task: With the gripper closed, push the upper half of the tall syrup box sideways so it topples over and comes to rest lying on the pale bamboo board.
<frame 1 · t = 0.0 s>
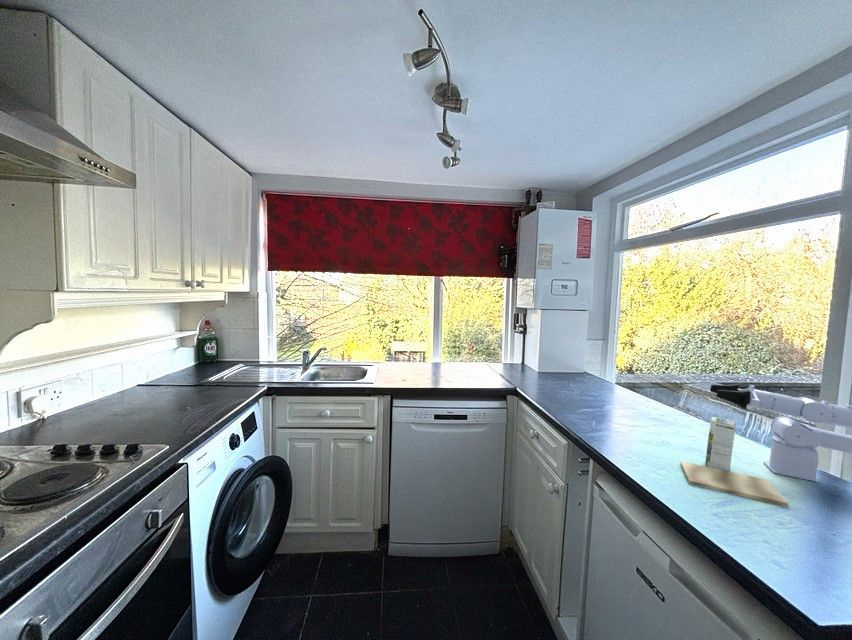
hand: (713, 390, 114), 22 cm above the table, tool horizontal, fingers open, 7 cm apart
bamboo board: (728, 483, 98), on the table
syrup box: (717, 467, 108), on the table
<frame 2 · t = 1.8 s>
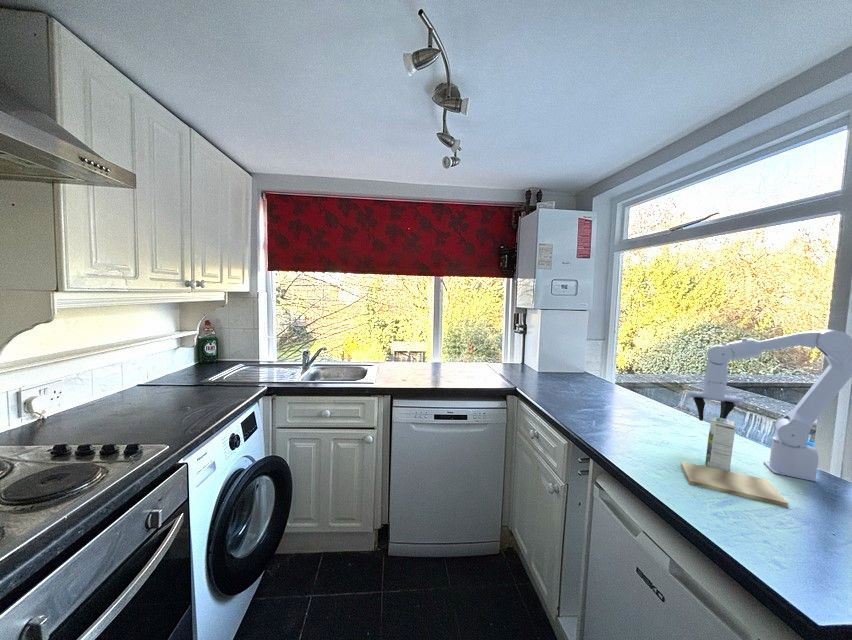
hand: (710, 421, 118), 10 cm above the table, tool pointing down, fingers open, 5 cm apart
nothing on the table moved.
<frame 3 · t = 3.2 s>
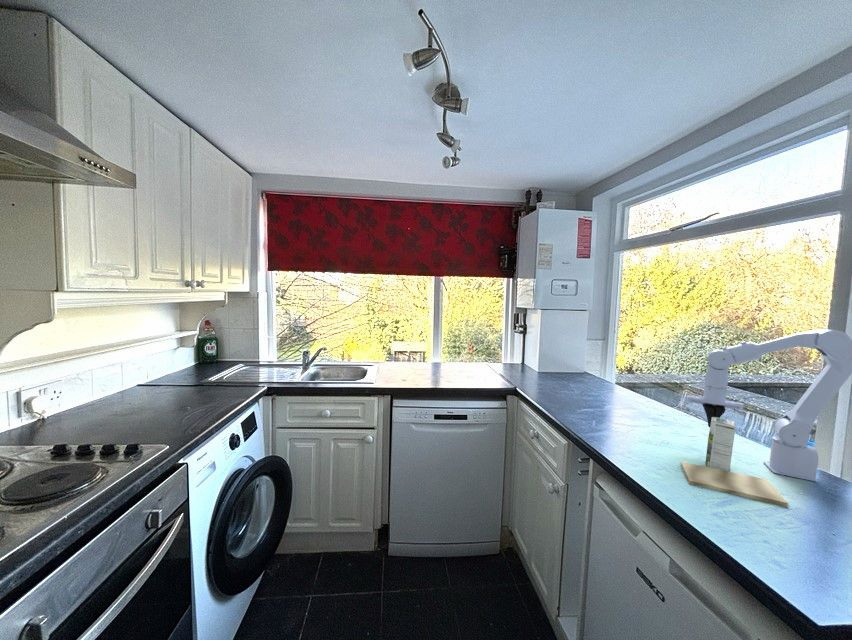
hand: (711, 426, 117), 9 cm above the table, tool pointing down, fingers closed
nothing on the table moved.
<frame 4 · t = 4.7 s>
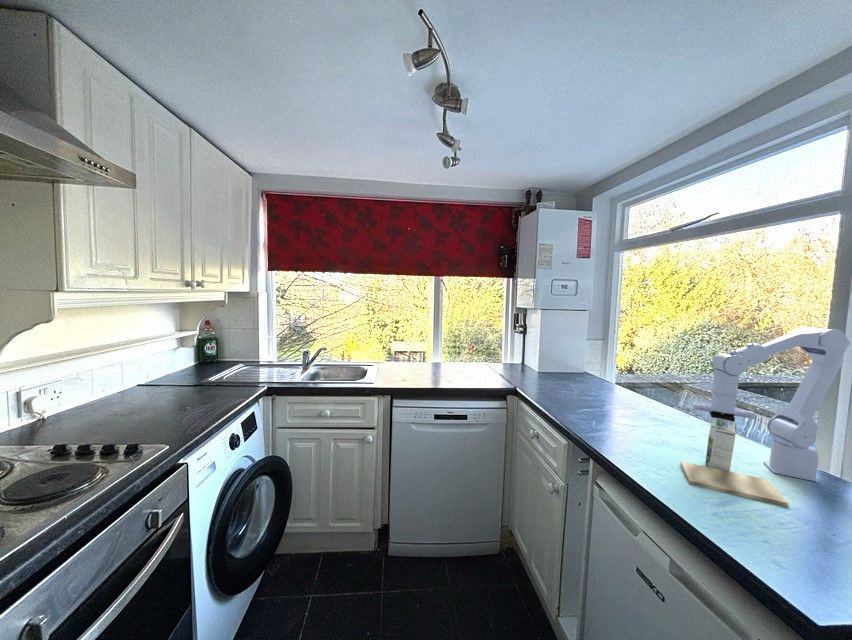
hand: (719, 436, 108), 9 cm above the table, tool pointing down, fingers closed
syrup box: (717, 464, 108), point 1 cm above the table, touching gripper
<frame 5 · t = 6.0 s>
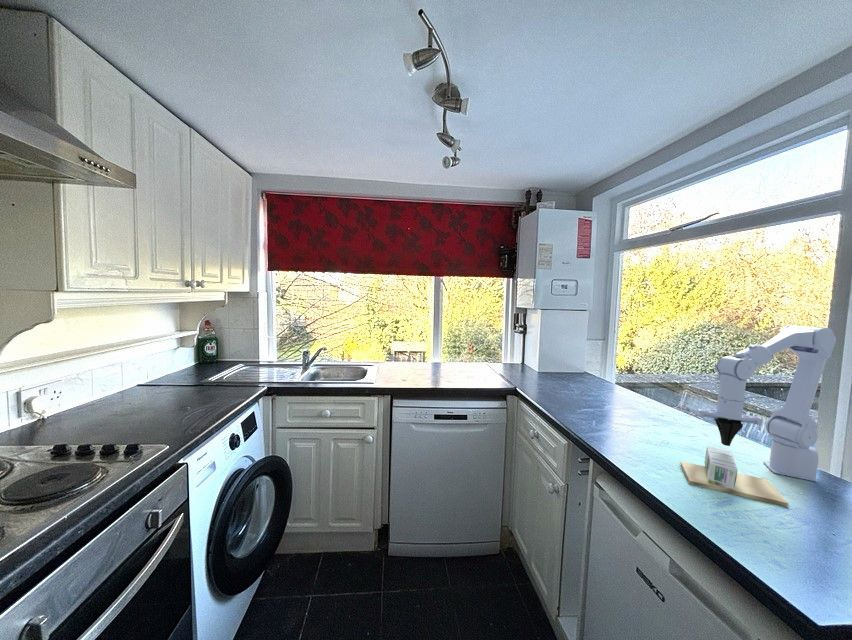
hand: (725, 444, 103), 9 cm above the table, tool pointing down, fingers closed
syrup box: (718, 456, 106), point 4 cm above the table, touching bamboo board
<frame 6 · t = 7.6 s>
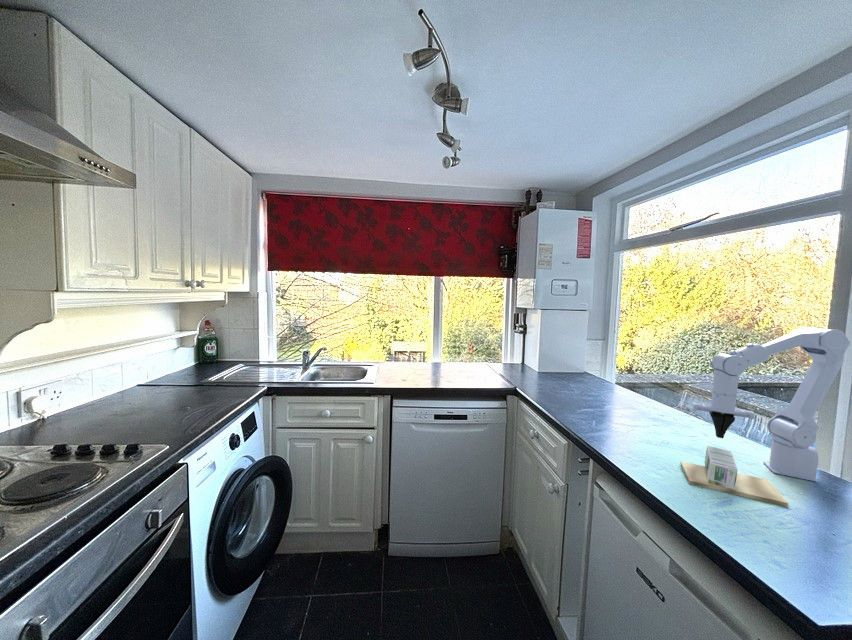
hand: (719, 436, 109), 9 cm above the table, tool pointing down, fingers closed
nothing on the table moved.
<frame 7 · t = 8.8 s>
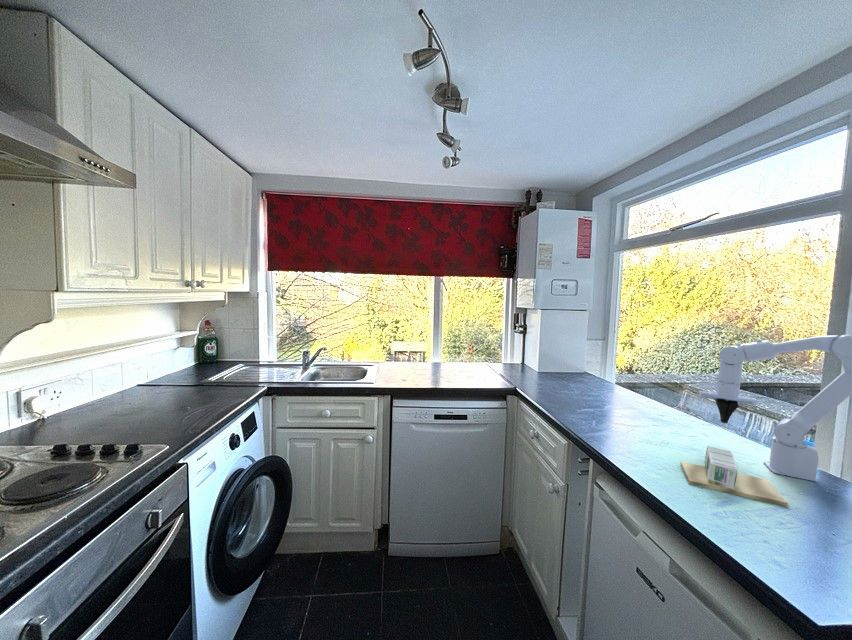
hand: (723, 422, 118), 10 cm above the table, tool pointing down, fingers closed
nothing on the table moved.
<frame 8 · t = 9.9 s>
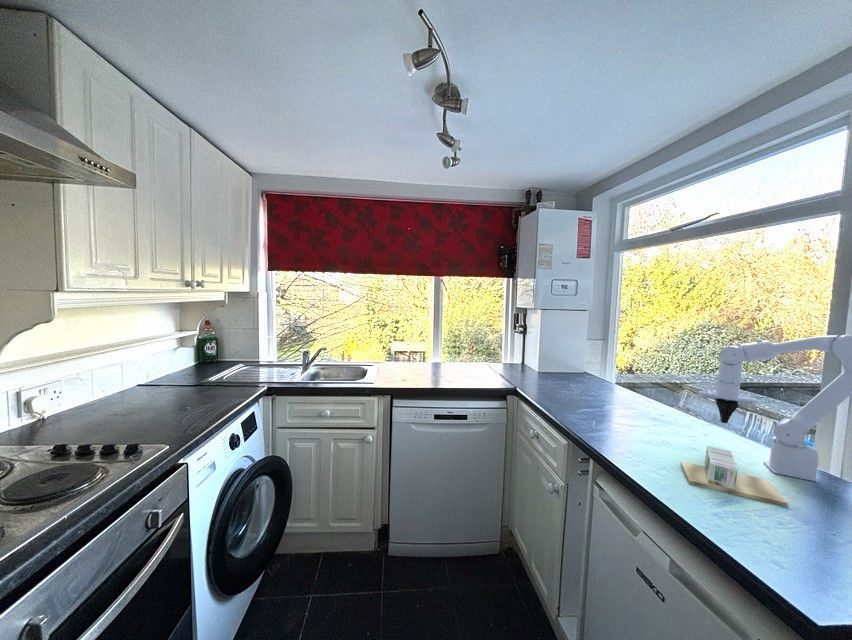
hand: (723, 422, 118), 10 cm above the table, tool pointing down, fingers closed
nothing on the table moved.
at the end: syrup box tilted 90°; syrup box touching bamboo board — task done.
